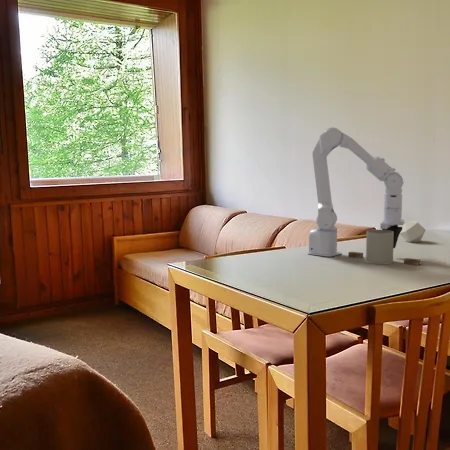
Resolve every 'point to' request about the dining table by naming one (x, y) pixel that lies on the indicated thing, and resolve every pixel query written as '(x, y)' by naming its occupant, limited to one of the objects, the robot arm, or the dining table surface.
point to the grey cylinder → (379, 246)
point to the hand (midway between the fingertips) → (391, 247)
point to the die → (412, 231)
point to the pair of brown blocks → (406, 260)
